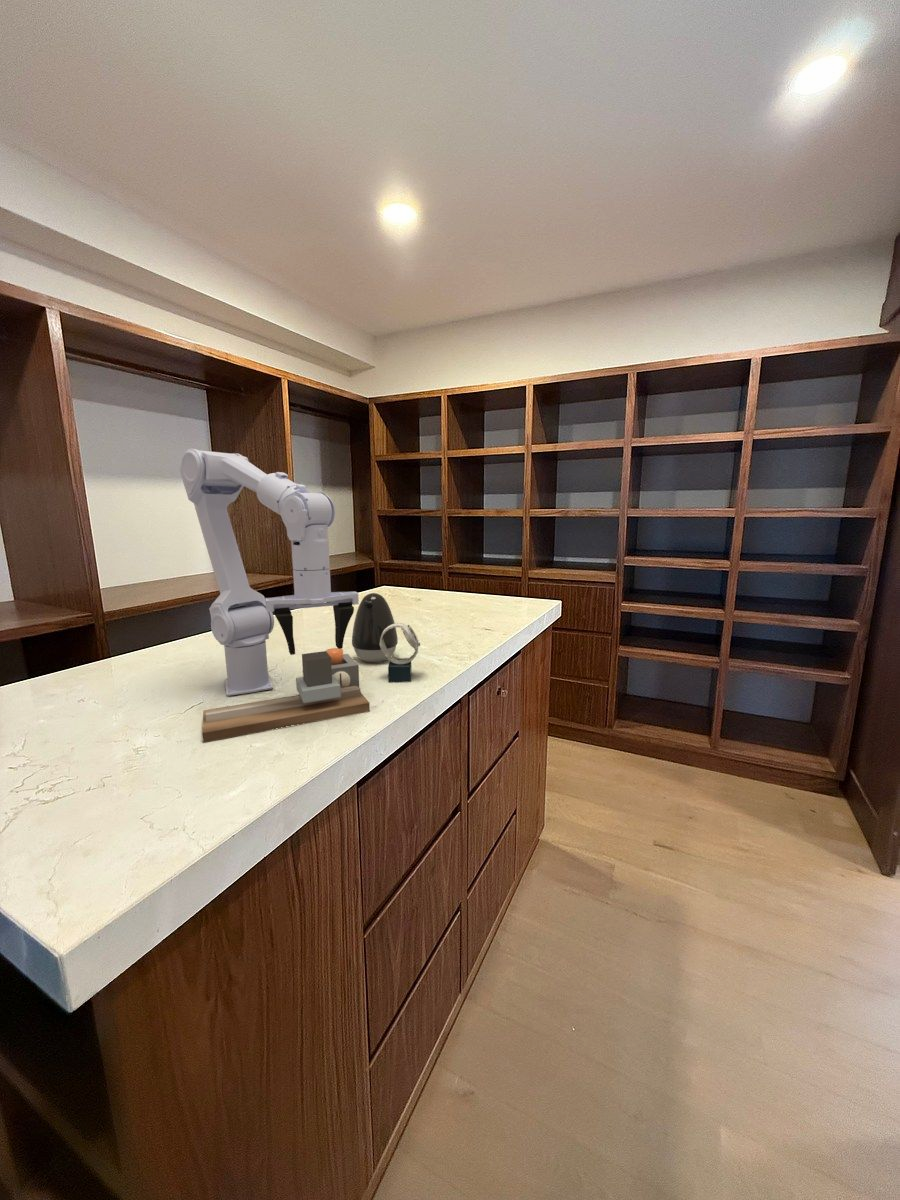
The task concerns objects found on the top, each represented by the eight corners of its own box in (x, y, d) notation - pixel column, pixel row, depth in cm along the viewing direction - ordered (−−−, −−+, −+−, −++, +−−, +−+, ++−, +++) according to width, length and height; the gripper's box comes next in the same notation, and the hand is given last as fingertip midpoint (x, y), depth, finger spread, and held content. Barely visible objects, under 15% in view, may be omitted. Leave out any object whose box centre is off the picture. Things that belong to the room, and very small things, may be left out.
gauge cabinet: (313, 683, 94) (312, 658, 93) (348, 677, 97) (347, 653, 96) (322, 697, 87) (320, 671, 86) (360, 691, 90) (359, 665, 89)
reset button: (324, 661, 92) (323, 649, 91) (341, 659, 93) (340, 647, 93) (328, 666, 89) (327, 653, 89) (345, 663, 90) (344, 651, 90)
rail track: (204, 719, 78) (202, 703, 77) (355, 693, 89) (355, 679, 88) (203, 742, 70) (201, 725, 69) (369, 711, 81) (369, 695, 80)
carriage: (296, 688, 83) (294, 652, 81) (331, 683, 85) (329, 648, 84) (303, 703, 76) (300, 664, 75) (341, 696, 79) (339, 658, 78)
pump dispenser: (345, 665, 105) (342, 596, 102) (361, 651, 115) (359, 588, 112) (390, 667, 103) (388, 597, 100) (403, 653, 113) (401, 589, 110)
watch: (420, 681, 95) (419, 627, 93) (379, 682, 94) (377, 628, 92) (421, 672, 100) (420, 620, 98) (382, 673, 100) (380, 621, 98)
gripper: (265, 574, 71) (272, 662, 73) (362, 568, 77) (365, 650, 79) (261, 569, 77) (267, 650, 79) (351, 564, 83) (354, 640, 86)
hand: (316, 650), depth 80 cm, fingers open, 7 cm apart
